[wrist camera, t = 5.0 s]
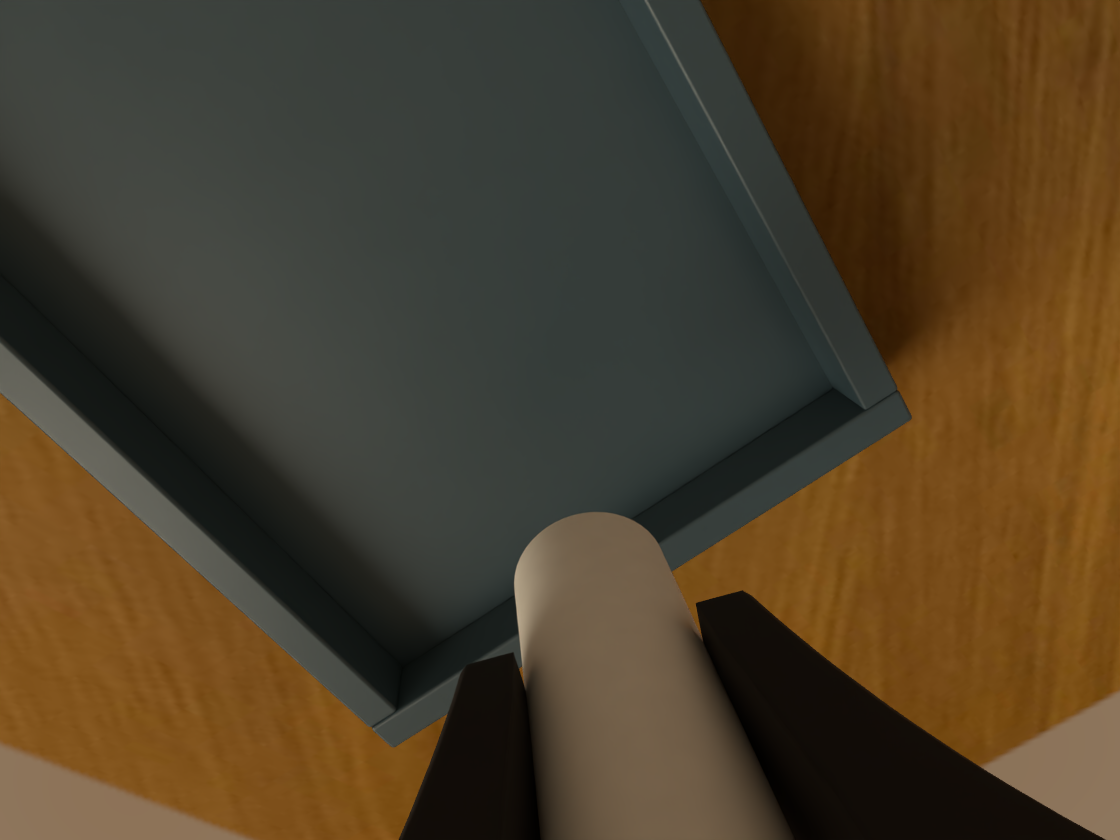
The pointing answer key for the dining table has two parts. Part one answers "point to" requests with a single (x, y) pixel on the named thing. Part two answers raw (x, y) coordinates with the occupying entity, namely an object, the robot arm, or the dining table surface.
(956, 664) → the dining table surface
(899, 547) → the dining table surface
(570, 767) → the glue stick
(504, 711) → the robot arm
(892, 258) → the dining table surface
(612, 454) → the desk tray
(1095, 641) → the dining table surface
